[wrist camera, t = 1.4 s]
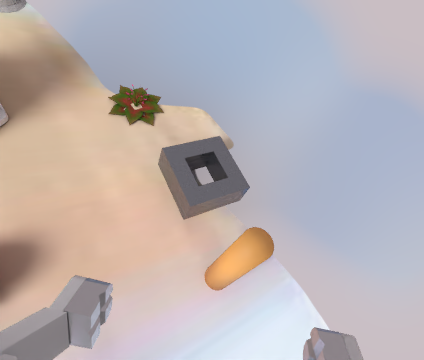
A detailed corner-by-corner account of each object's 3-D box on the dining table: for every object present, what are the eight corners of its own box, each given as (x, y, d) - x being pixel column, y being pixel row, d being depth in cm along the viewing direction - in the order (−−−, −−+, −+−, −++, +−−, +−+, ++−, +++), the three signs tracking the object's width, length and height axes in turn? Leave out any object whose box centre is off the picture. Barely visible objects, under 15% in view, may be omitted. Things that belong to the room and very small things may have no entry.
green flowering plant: (98, 119, 56) (97, 102, 53) (114, 80, 63) (115, 63, 59) (159, 135, 59) (162, 120, 55) (168, 96, 65) (172, 80, 62)
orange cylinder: (200, 270, 46) (236, 233, 33) (221, 261, 48) (262, 223, 35) (211, 294, 45) (253, 266, 32) (232, 283, 47) (280, 252, 34)
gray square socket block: (158, 164, 54) (162, 148, 50) (212, 151, 60) (219, 136, 56) (183, 219, 50) (190, 206, 46) (239, 200, 56) (249, 187, 52)
